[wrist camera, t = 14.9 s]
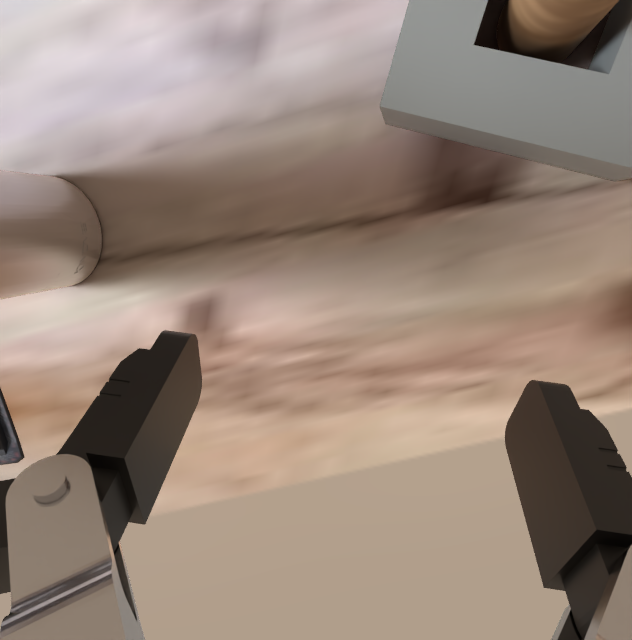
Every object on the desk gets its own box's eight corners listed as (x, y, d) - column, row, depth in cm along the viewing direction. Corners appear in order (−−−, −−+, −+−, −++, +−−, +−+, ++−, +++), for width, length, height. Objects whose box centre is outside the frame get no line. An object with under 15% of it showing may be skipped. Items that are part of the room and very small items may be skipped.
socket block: (385, 123, 30) (379, 106, 26) (462, -143, 26) (472, -223, 22) (615, 181, 28) (655, 173, 23) (737, -100, 24) (815, -179, 19)
